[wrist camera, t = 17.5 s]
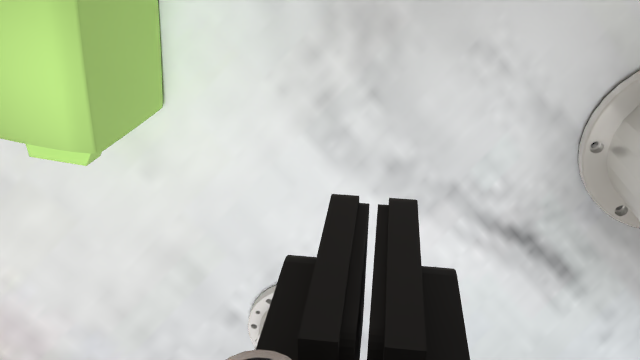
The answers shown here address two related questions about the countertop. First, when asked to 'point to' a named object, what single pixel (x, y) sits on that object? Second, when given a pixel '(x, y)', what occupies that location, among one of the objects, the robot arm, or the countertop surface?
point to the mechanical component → (259, 315)
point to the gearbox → (77, 74)
